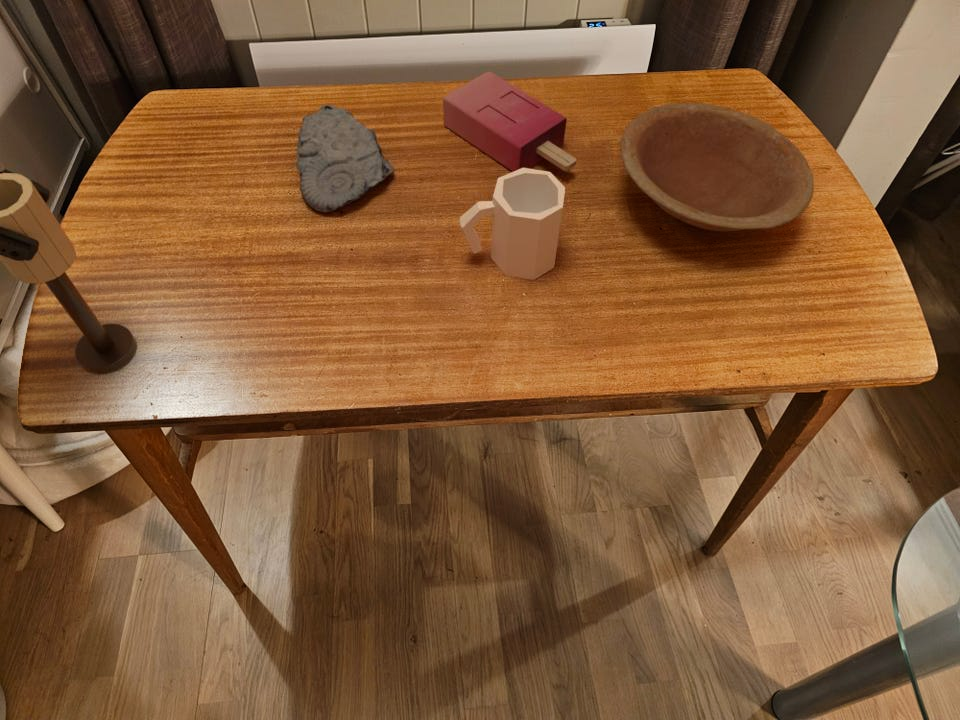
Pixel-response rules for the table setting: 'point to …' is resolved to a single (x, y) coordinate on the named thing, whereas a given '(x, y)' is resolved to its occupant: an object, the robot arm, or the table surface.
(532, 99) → the popsicle
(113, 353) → the stand
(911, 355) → the table surface
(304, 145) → the fossil
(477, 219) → the mug
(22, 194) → the faceted pencil cup
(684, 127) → the bowl
